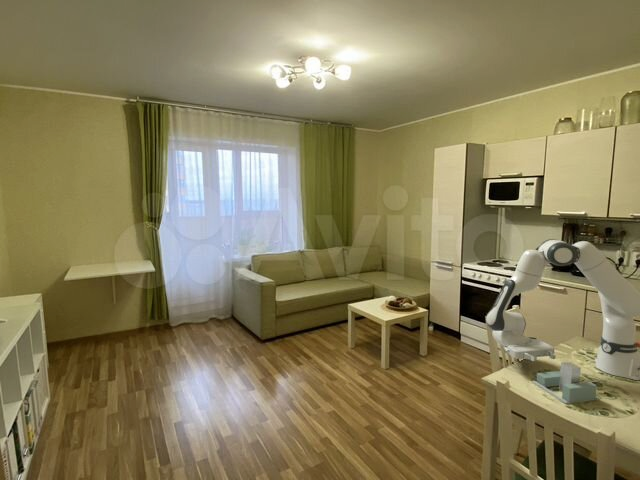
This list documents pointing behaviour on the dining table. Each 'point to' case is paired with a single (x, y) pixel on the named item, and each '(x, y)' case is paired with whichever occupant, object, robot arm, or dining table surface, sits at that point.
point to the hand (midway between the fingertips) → (544, 358)
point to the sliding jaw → (549, 378)
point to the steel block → (569, 374)
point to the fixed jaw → (574, 392)
